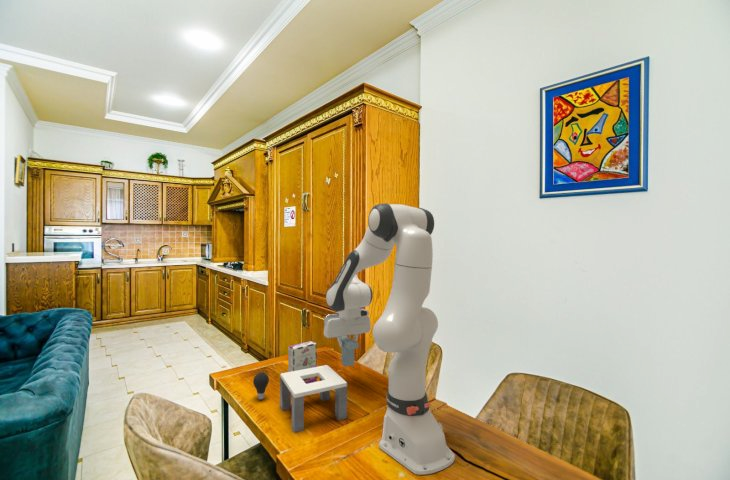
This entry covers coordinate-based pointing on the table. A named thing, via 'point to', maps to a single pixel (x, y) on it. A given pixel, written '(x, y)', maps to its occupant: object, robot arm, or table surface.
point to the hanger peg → (348, 351)
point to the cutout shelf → (311, 392)
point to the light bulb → (261, 384)
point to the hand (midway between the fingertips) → (347, 345)
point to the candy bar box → (303, 358)
